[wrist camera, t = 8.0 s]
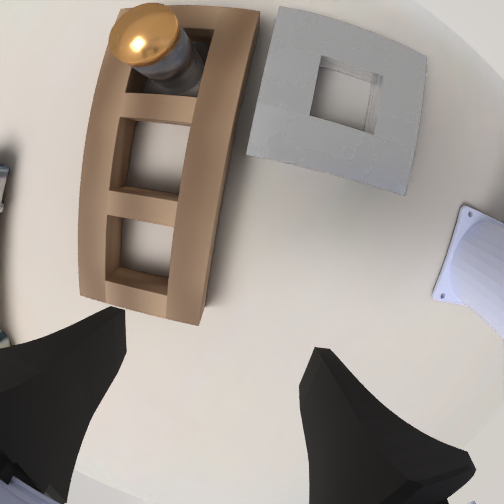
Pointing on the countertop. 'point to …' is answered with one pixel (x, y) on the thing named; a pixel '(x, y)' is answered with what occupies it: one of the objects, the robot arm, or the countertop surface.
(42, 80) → the countertop surface
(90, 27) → the countertop surface
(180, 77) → the steel peg
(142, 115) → the rack
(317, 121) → the socket block
